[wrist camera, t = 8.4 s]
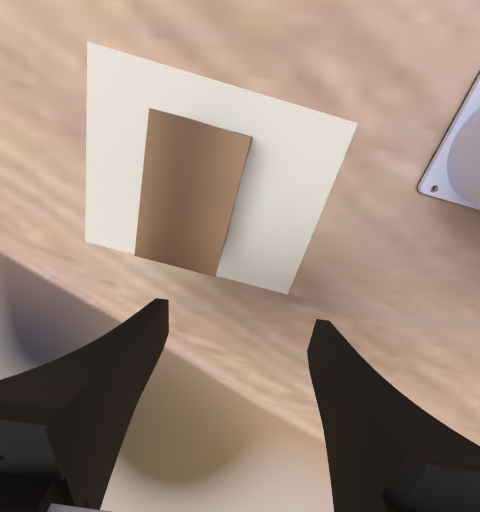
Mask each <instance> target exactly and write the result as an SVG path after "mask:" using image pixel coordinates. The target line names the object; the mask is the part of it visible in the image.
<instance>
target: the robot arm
mask: <svg viewBox="0 0 480 512" xmlns="http://www.w3.org/2000/svg"><path fill="white" fill-rule="evenodd" d="M434 185H435V189H434V190H433V191H431V187H432V186H434ZM418 191H419V192H421V193H423V194H426V195H430V196H433V197H436V198H440V199H443V200H447V201H450V202H454V203H457V204H460V205H464V206H467V207H471V208H474V209H477V210H480V74H479V76H478V77H477V79H476V81H475V83H474V85H473V87H472V88H471V90H470V92H469V94H468V96H467V97H466V99H465V101H464V103H463V105H462V107H461V108H460V110H459V112H458V114H457V116H456V118H455V119H454V121H453V123H452V125H451V127H450V128H449V130H448V132H447V134H446V136H445V138H444V139H443V141H442V143H441V145H440V147H439V149H438V150H437V152H436V154H435V156H434V158H433V159H432V161H431V163H430V165H429V167H428V169H427V170H426V172H425V174H424V176H423V178H422V179H421V181H420V183H419V185H418ZM168 333H169V311H168V300H165V299H157V298H156V299H154V300H153V301H152V302H150V303H149V304H148V305H146V306H145V307H144V308H142V309H141V310H140V311H138V312H137V313H136V314H134V315H133V316H132V317H130V318H129V319H128V320H126V321H125V322H123V323H122V324H120V325H119V326H117V327H116V328H114V329H113V330H111V331H110V332H108V333H107V334H105V335H103V336H102V337H100V338H98V339H97V340H95V341H93V342H91V343H89V344H88V345H86V346H84V347H82V348H80V349H78V350H76V351H74V352H71V353H69V354H67V355H65V356H63V357H61V358H59V359H56V360H54V361H52V362H49V363H47V364H44V365H42V366H39V367H37V368H34V369H31V370H29V371H26V372H23V373H20V374H17V375H14V376H11V377H8V378H5V379H2V380H0V512H110V511H103V510H100V507H101V504H102V501H103V498H104V495H105V492H106V489H107V486H108V483H109V480H110V477H111V474H112V471H113V468H114V465H115V462H116V460H117V456H118V454H119V451H120V448H121V445H122V442H123V439H124V437H125V434H126V431H127V428H128V426H129V423H130V421H131V418H132V416H133V413H134V410H135V407H136V405H137V403H138V400H139V398H140V396H141V394H142V392H143V390H144V388H145V385H146V384H147V382H148V380H149V378H150V376H151V374H152V372H153V370H154V368H155V365H156V363H157V361H158V359H159V357H160V355H161V353H162V351H163V348H164V345H165V342H166V339H167V336H168ZM307 353H308V363H309V370H310V375H311V379H312V383H313V388H314V392H315V396H316V399H317V403H318V407H319V411H320V415H321V420H322V424H323V429H324V436H325V442H326V449H327V456H328V463H329V471H330V477H331V486H332V496H333V505H334V512H480V446H478V445H477V444H475V443H473V442H472V441H470V440H468V439H467V438H465V437H464V436H462V435H460V434H459V433H457V432H455V431H454V430H452V429H451V428H449V427H448V426H446V425H445V424H443V423H442V422H440V421H439V420H437V419H436V418H434V417H433V416H431V415H430V414H428V413H427V412H426V411H424V410H423V409H421V408H420V407H419V406H417V405H416V404H415V403H413V402H412V401H411V400H409V399H408V398H407V397H406V396H404V395H403V394H402V393H401V392H399V391H398V390H397V389H396V388H394V387H393V386H392V385H391V384H390V383H389V382H388V381H386V380H385V379H384V378H383V377H382V376H381V375H380V374H379V373H377V372H376V371H375V370H374V369H373V368H372V367H371V366H370V365H369V364H368V363H367V362H366V361H365V360H364V359H363V358H362V357H361V356H360V355H359V354H358V352H357V351H356V350H355V349H354V348H353V347H352V346H351V345H350V344H349V343H348V341H347V340H346V339H345V338H344V337H343V336H342V335H341V333H340V332H339V331H338V330H337V329H336V328H335V327H334V325H333V324H332V323H331V322H330V321H327V320H319V319H316V323H315V326H314V330H313V333H312V337H311V340H310V344H309V347H308V350H307Z"/></svg>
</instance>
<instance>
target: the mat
mask: <svg viewBox="0 0 480 512" xmlns="http://www.w3.org/2000/svg"><path fill="white" fill-rule="evenodd" d="M149 108H151V109H155V110H159V111H163V112H167V113H171V114H175V115H179V116H183V117H186V118H190V119H193V120H196V121H199V122H202V123H205V124H208V125H212V126H215V127H219V128H222V129H225V130H229V131H232V132H238V133H241V134H244V135H248V136H251V137H253V139H252V143H251V147H250V150H249V154H248V157H247V159H246V163H245V167H244V171H243V175H242V178H241V182H240V186H239V190H238V194H237V198H236V202H235V205H234V209H233V213H232V217H231V221H230V225H229V231H228V235H227V239H226V243H225V246H224V249H223V252H222V256H221V259H220V262H219V266H218V269H217V272H216V276H219V277H222V278H226V279H230V280H234V281H238V282H241V283H245V284H249V285H253V286H257V287H261V288H264V289H268V290H272V291H276V292H280V293H283V294H287V295H288V293H289V290H290V288H291V286H292V283H293V281H294V278H295V276H296V273H297V271H298V269H299V266H300V264H301V261H302V259H303V256H304V254H305V251H306V249H307V247H308V244H309V242H310V239H311V237H312V234H313V232H314V230H315V227H316V225H317V222H318V220H319V217H320V215H321V212H322V210H323V208H324V205H325V203H326V200H327V198H328V195H329V193H330V191H331V188H332V186H333V183H334V181H335V178H336V176H337V173H338V171H339V169H340V166H341V164H342V161H343V159H344V156H345V154H346V152H347V149H348V147H349V144H350V142H351V139H352V137H353V134H354V132H355V130H356V127H357V125H358V123H355V122H352V121H348V120H345V119H342V118H339V117H335V116H332V115H329V114H325V113H322V112H319V111H315V110H312V109H309V108H306V107H302V106H299V105H296V104H292V103H289V102H286V101H282V100H279V99H276V98H273V97H269V96H266V95H263V94H259V93H256V92H253V91H249V90H246V89H243V88H240V87H236V86H233V85H230V84H226V83H223V82H220V81H216V80H213V79H210V78H207V77H203V76H200V75H197V74H193V73H190V72H187V71H183V70H180V69H177V68H174V67H170V66H167V65H164V64H160V63H157V62H154V61H150V60H147V59H144V58H141V57H137V56H134V55H131V54H127V53H124V52H121V51H117V50H114V49H111V48H108V47H104V46H101V45H98V44H94V43H91V42H88V47H87V135H86V223H85V242H89V243H93V244H97V245H100V246H104V247H108V248H112V249H116V250H120V251H123V252H127V253H131V254H135V244H136V234H137V224H138V214H139V204H140V194H141V184H142V174H143V164H144V154H145V144H146V134H147V124H148V114H149Z"/></svg>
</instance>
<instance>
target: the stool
mask: <svg viewBox="0 0 480 512" xmlns="http://www.w3.org/2000/svg"><path fill="white" fill-rule="evenodd" d="M252 139H253V137H251V136H248V135H244V134H241V133H238V132H232V131H229V130H225V129H222V128H219V127H215V126H212V125H208V124H205V123H202V122H199V121H196V120H193V119H190V118H186V117H183V116H179V115H175V114H171V113H167V112H163V111H159V110H155V109H151V108H149V114H148V124H147V134H146V144H145V154H144V164H143V174H142V184H141V194H140V204H139V214H138V224H137V234H136V244H135V254H134V256H138V257H142V258H146V259H149V260H153V261H157V262H161V263H165V264H169V265H172V266H176V267H180V268H184V269H188V270H192V271H195V272H199V273H203V274H207V275H211V276H216V272H217V269H218V266H219V262H220V259H221V256H222V252H223V249H224V246H225V243H226V239H227V235H228V231H229V225H230V221H231V217H232V213H233V209H234V205H235V202H236V198H237V194H238V190H239V186H240V182H241V178H242V175H243V171H244V167H245V163H246V159H247V157H248V154H249V150H250V147H251V143H252Z"/></svg>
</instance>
